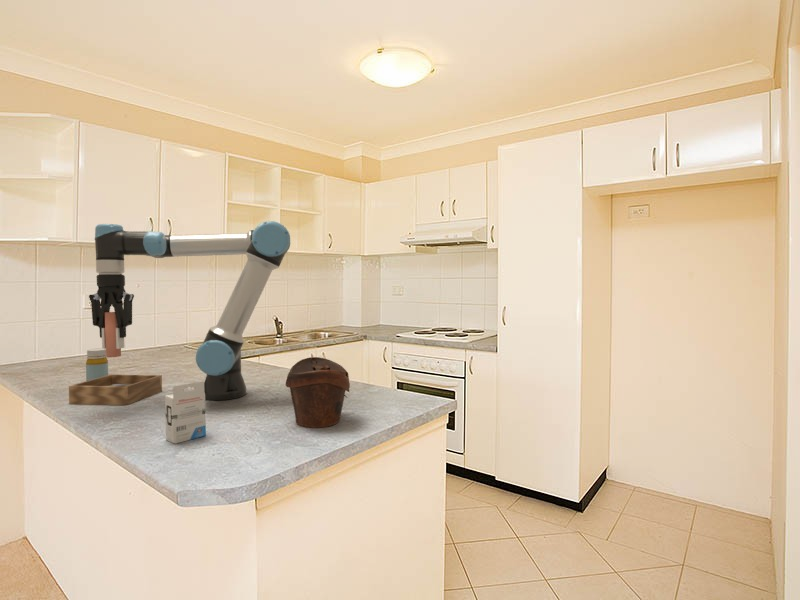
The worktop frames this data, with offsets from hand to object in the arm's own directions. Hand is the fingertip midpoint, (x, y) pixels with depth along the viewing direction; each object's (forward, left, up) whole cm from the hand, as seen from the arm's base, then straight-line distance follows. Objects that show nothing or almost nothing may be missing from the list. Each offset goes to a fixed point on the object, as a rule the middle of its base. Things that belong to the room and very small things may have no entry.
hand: (113, 347), depth 145 cm
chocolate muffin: (-68, +6, -20) cm, 71 cm away
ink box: (-37, +23, -20) cm, 48 cm away
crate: (+10, -16, -20) cm, 28 cm away
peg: (0, 0, -3) cm, 3 cm away
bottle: (+27, -28, -20) cm, 44 cm away
